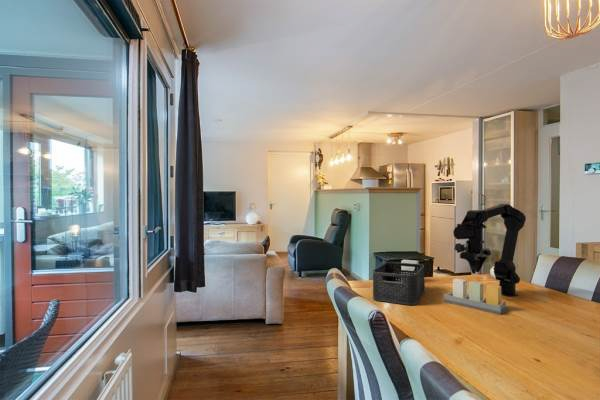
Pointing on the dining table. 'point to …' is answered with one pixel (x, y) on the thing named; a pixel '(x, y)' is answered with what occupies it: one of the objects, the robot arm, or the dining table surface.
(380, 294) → the storage bin
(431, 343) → the dining table surface
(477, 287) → the pale green tall block
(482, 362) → the dining table surface
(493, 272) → the geometric ball
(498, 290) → the orange block
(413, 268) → the ink box
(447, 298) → the grey divided tray
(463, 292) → the white rectangular block
